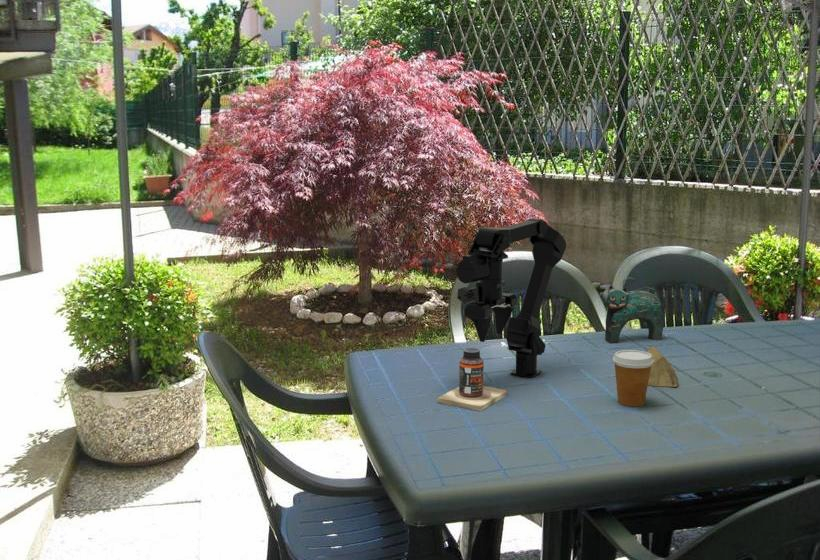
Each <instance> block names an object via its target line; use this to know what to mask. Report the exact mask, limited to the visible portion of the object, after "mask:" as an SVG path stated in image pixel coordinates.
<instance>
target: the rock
mask: <svg viewBox="0 0 820 560" xmlns="http://www.w3.org/2000/svg"><path fill="white" fill-rule="evenodd" d="M646 352H647V353H649V354H651V356H652V359H653V363H652V366H651V370H650V375H649V381H648V386H650V387H668V388H669V387H670V388H671V387H672V388H674V387H675V388H677V387H678V386H679V379H678V376H677V373H676V371H675V369H674V367H672V365H671V363H670V362H669V361H668V359H667V358H666V357H665V356H664V355H663V354H662V353H661V352H660V351H659V350H658V348H656V347H653V346H649V347H648V350H647V351H646ZM648 386H647V387H648Z"/></svg>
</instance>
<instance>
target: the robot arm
mask: <svg viewBox="0 0 820 560" xmlns="http://www.w3.org/2000/svg"><path fill="white" fill-rule="evenodd" d="M525 239H528V241H529V243H530V244H531V246H532V249H531V250H532V251H531V254H532V257H533V261H534V264H533V268H532V271H531V274H530V277H529V279H528V284H527V287H526V291H525V294H524V297H523V302H522V304H521V308H520V311H519V313H518V314H517V315H516V316H511V315H512V312H513V311H514V309H515V307H516V306H517V305H518V297H517V295H516V294H515V293H508V292H503V287H505V286H507V285H506V284H507V283H506V280H503V278H504V277H503V276H504V275H503V272H504V271H503V270H504V267H503V266H504V265H503V263H504V262H503V260H506V259H508V258H509V255H508V254H507V253H506V252H505V251H506V250H508V249H509V248H510V247H511V245H512V244H513V243H515V242H519V241H522V240H525ZM566 249H567V242H566V240H565V238H564V236H563V235H562V234H561V233H560V232H559V231H558V230H556V229H554V228H553V227H551V226H550V225H549V223H548V222H546V221H545V220H544V219H538V218H529V219H527V220H525V221H522V222H521V221H520V222H517V223H513V224H511V225H507V226H503V227H493V226H491V227H490V226H488V227H485V226H484V227H480V228H479V229H478V231H477V233H476V234H475V238H474V239H473V242H472V244H471V246H470V248H469V250H468V252H467V254H464V255H462V260H460V261H459V262H458V264H457V266H456V268H455V272H456V276H457V278H458V281H460V282H461V283H463V284H470V283H475V282H476V283H475V287H471V288H468V287H467V286H464V287H461V288H458V289H457V294H456V295H457V296H456V299H457V300H458V301H459V302H461V304H462V305H464V304H465V306H463V310H462V311H463V312H462V314H463V317H466V318H467V319H469V320H470V321H471V322H473V325H474V328H475V329H476V330H475V331H476V333H477V337H478V339H479V342H481V343H484V342H485V340H486V338H487V335H488V332H489V328H490V325H491V321H492V318H493V317H492V316H491V315H492V311H493V312H494V313H493V314H494V319H495V321H494V322H495V329H496V334H498V335H501V334H502V333H503V331H504V329H505V331H506V333H505V339H506V342H507V347H508V350H509V351H513V352H515V369H514V370H512V371H510V375H513V376H518V377H525V378H534V377H536V376H538V375H539V374H541V373H542V371H543V370H541V369H538V356H542V355H543V354H544V353H545V351H546V343H545V342H544V340H542V338H541V337H540V333H541V327H540V323H539V314H540V311H541V308H542V305H543V302H544V301H543V300H544V298H545V295H546V292H547V287H548V285H549V280H550V278H551V275H552V271H553V268H555V266H557V264H558V263H559V262H561V260H562V258H563V256H564V253H565V251H566ZM472 301H474V302H472ZM466 303H467V304H466ZM507 323H508V325H507ZM506 325H507V327H506ZM505 327H506V328H505Z"/></svg>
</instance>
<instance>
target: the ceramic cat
mask: <svg viewBox="0 0 820 560" xmlns="http://www.w3.org/2000/svg"><path fill="white" fill-rule="evenodd" d="M628 279H631V280H632V281H633V282H635V281H636V280H635V279H634V278H633V277H625V278H624V279H623V281H622V288H619V287H615V286H612V285H609V287H608V288H606V289H605V290H604V291H603V293H602V302H603V304H604V306H605V307H607V311H606V317H605V329H604V330H605V332H604V334H605V335H604V339H605V341H606V342H607V343H609V344H618V343H619V339H620V335H621V332H622V330H623V328H624V327H625V325H626V324H627V323H629V322H630V321H634V320H641V321H643V322H644V323H646V325H647V329H648V339H650V340H652V341H660V340H662V336H663V332H664V331H663V330H664V326H665V322H666V321H665V319H666V314H665V309H664V305H663V303H662V301H661V295H660V294H659V293H660V292H659V291H658V290H657V289H655V288H653V287H639V288H638V289H636V290H635V289H634V290H630V291H629V290H627V289H628V287H625V286H624V284H625V281H627V280H628ZM645 290H652V291H654V292H655V293H656V294H657V295H658V296H657V295H655V294H653V293H651V292H649V291H645Z"/></svg>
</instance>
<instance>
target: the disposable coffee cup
mask: <svg viewBox="0 0 820 560" xmlns="http://www.w3.org/2000/svg"><path fill="white" fill-rule="evenodd" d="M612 361H613V363H614V368H615V369H614V370H615V380H616V381H615V382H616V383H615V384H616V393H617V394H616V395H617V402H618V403H619V404H620V405H622V406H625V407H626V406H627V407H640V406H643V405H645V403H646V395H647V392H648V381H649V375H650V370H651V366H652V363H653V359H652V356H651V354H649V353H647V351H642V350H636V349H623V350H618V351H616V352H615V353H614V355H613V357H612Z"/></svg>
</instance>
